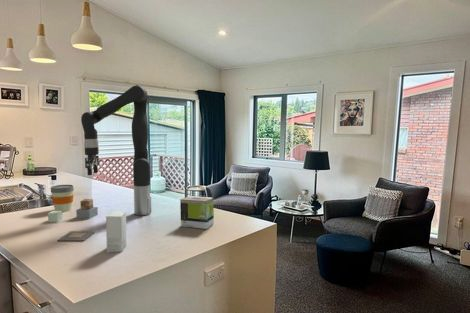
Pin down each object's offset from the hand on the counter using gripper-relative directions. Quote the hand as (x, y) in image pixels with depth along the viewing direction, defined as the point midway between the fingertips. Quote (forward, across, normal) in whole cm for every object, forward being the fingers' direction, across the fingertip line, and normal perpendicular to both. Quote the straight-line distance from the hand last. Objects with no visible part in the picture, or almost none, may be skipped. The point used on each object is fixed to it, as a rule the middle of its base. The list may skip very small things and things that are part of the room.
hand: (92, 174), depth 186 cm
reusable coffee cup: (+24, +8, +22) cm, 34 cm away
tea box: (+25, -24, -63) cm, 72 cm away
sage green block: (+24, -14, +16) cm, 32 cm away
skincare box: (+24, -56, -31) cm, 68 cm away
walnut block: (+19, -6, +2) cm, 20 cm away
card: (+24, -40, -7) cm, 47 cm away
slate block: (+24, -6, +2) cm, 25 cm away
